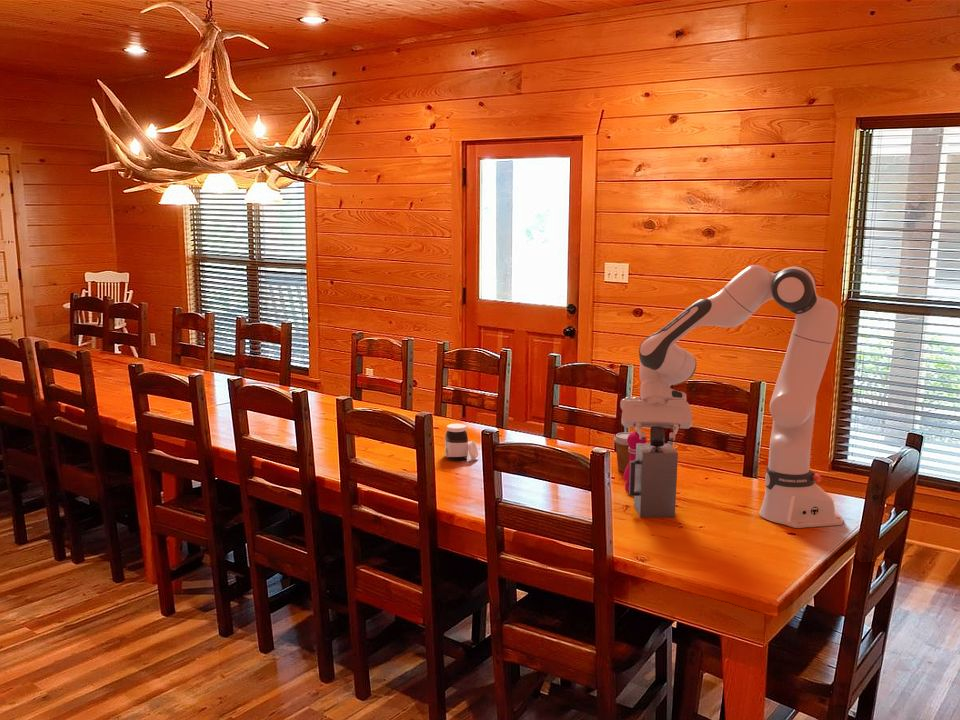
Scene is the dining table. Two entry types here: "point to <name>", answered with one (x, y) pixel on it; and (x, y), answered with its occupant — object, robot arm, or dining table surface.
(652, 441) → the press plunger
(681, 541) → the dining table surface
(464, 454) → the spread jar
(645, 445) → the tall grey box
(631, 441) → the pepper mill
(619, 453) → the disposable coffee cup
